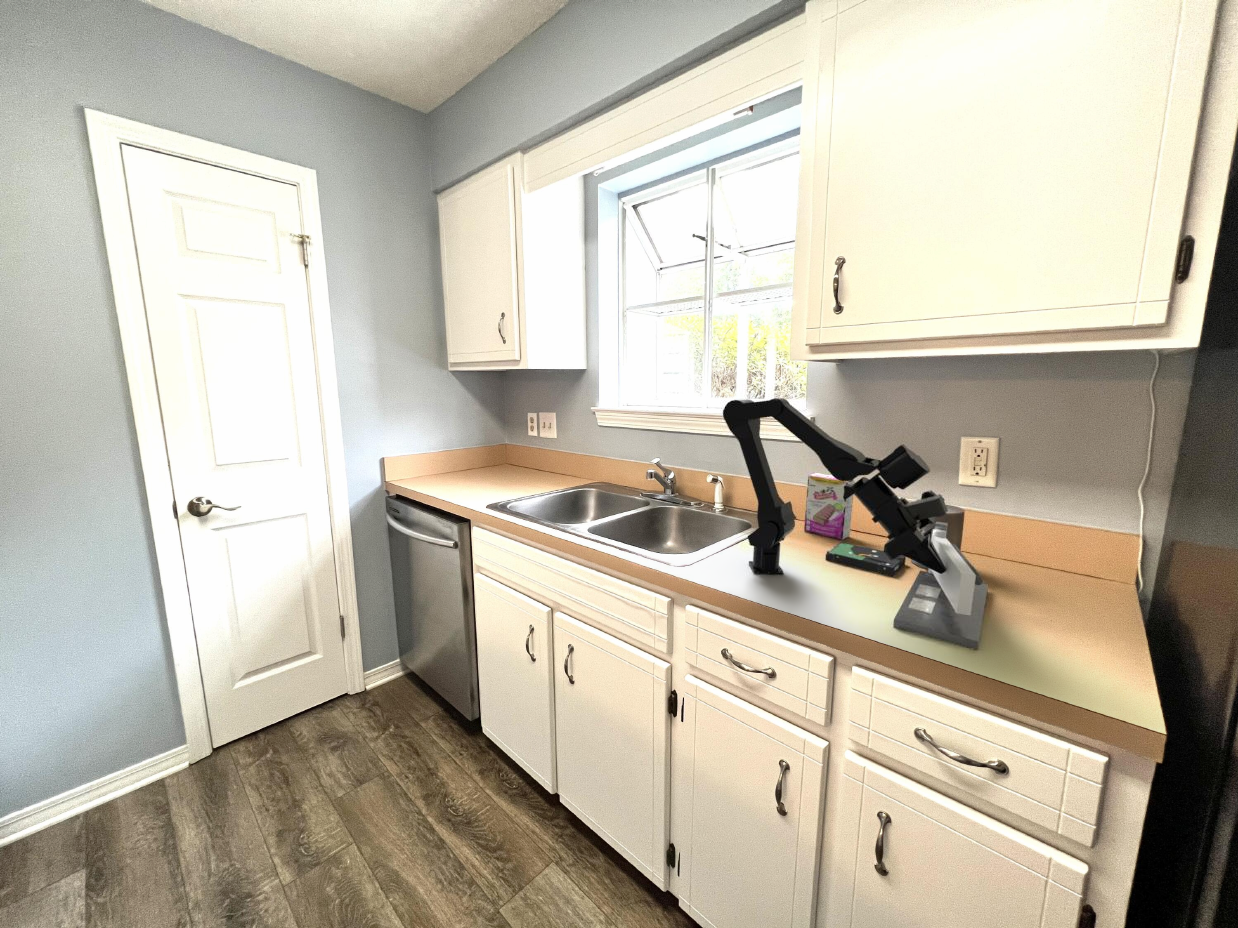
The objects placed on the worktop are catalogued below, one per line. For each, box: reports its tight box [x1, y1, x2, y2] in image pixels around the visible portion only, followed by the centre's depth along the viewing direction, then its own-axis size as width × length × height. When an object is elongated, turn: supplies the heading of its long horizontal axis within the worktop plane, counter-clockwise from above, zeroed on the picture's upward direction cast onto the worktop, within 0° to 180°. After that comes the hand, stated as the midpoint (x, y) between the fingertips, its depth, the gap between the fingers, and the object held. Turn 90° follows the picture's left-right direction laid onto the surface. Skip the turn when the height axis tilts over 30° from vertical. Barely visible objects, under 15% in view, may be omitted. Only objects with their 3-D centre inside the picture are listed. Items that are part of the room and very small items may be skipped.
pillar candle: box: [910, 503, 966, 570], centre depth 116 cm, size 10×10×15 cm
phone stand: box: [892, 522, 989, 651], centre depth 94 cm, size 12×29×13 cm, turn 142°
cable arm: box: [927, 529, 985, 615], centre depth 93 cm, size 24×4×9 cm, turn 158°
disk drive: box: [824, 541, 907, 577], centre depth 118 cm, size 10×3×15 cm
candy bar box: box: [803, 473, 856, 541], centre depth 138 cm, size 11×5×16 cm, turn 43°
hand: (943, 571), depth 92 cm, fingers closed
